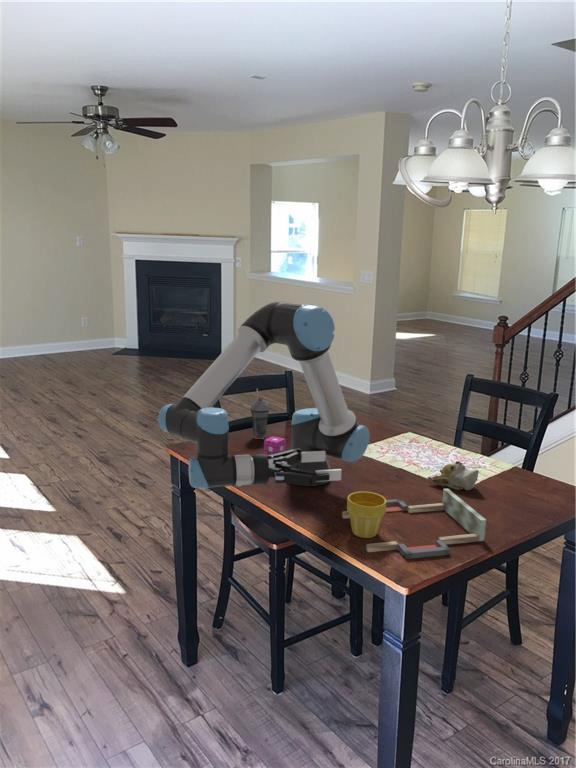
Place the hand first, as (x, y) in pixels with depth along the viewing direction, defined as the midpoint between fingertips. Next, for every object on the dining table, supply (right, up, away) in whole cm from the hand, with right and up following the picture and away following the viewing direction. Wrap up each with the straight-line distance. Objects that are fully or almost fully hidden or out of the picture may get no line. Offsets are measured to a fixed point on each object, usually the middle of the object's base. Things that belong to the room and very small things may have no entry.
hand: (332, 464), depth 159 cm
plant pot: (+9, -19, +7) cm, 22 cm away
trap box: (+22, -19, +10) cm, 30 cm away
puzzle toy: (-16, -5, +65) cm, 67 cm away
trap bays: (+20, -19, +10) cm, 29 cm away
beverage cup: (-23, 0, +83) cm, 86 cm away
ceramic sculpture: (+42, -12, +41) cm, 60 cm away
